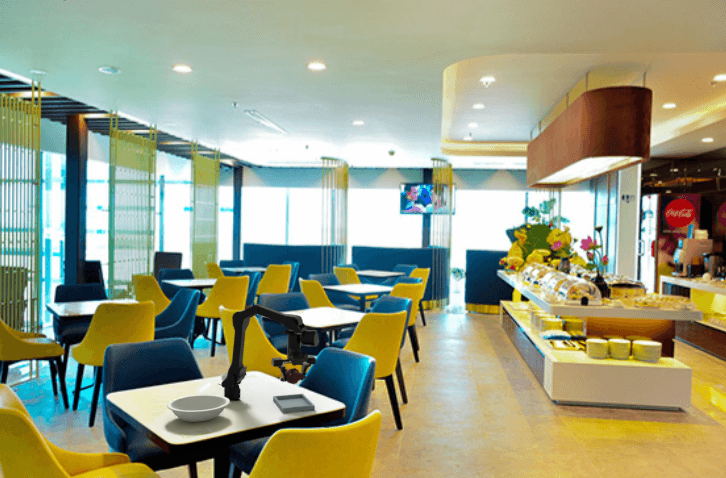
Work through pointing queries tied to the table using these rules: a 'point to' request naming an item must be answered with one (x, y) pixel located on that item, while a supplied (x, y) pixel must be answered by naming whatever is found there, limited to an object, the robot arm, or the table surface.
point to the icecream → (293, 376)
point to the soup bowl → (198, 407)
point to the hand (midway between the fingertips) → (293, 381)
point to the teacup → (223, 377)
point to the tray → (293, 403)
